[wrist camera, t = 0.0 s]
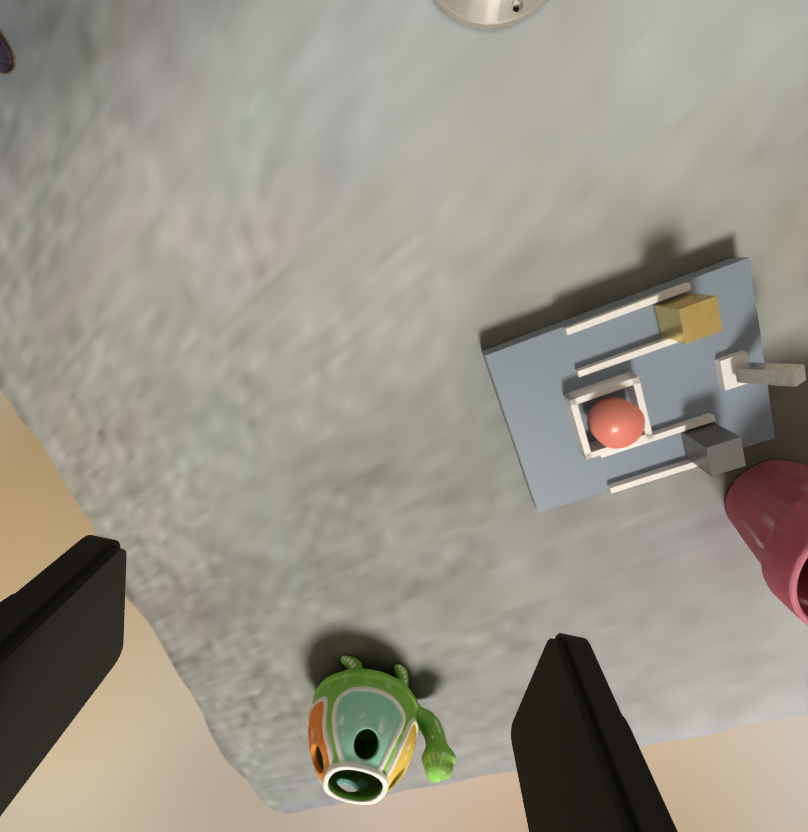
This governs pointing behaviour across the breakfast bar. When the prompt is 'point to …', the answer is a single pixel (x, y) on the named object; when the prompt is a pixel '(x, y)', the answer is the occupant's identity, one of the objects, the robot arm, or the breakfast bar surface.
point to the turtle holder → (371, 733)
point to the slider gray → (714, 448)
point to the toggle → (771, 374)
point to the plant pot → (775, 526)
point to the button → (616, 422)
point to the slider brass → (689, 317)
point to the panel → (629, 387)
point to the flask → (6, 57)
